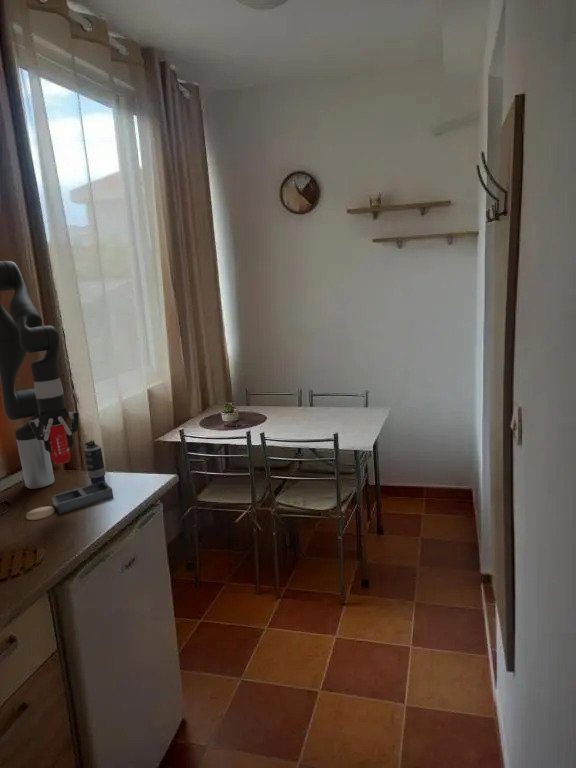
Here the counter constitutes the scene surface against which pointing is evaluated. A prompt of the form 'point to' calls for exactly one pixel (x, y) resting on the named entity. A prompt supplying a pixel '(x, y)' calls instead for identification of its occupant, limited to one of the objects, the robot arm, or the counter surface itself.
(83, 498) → the rack frame
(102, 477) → the grenade
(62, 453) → the beverage can
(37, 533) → the counter surface
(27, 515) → the coaster
